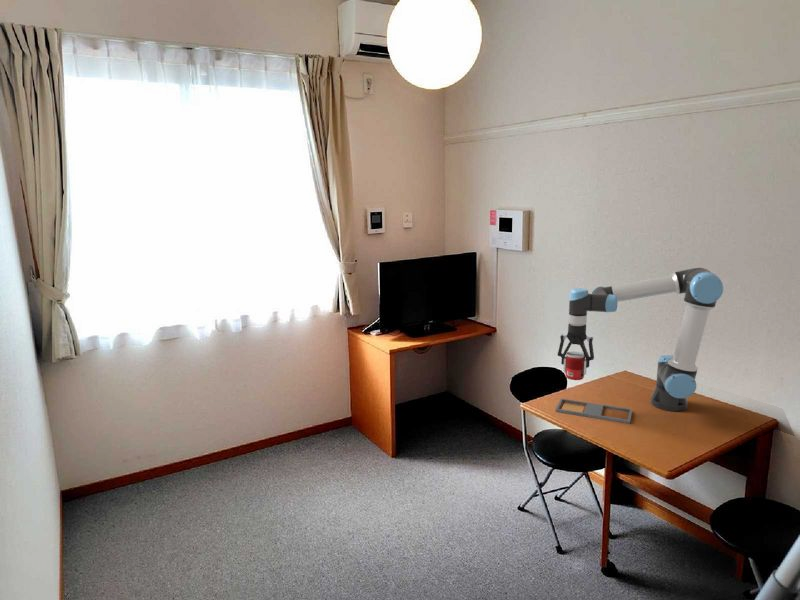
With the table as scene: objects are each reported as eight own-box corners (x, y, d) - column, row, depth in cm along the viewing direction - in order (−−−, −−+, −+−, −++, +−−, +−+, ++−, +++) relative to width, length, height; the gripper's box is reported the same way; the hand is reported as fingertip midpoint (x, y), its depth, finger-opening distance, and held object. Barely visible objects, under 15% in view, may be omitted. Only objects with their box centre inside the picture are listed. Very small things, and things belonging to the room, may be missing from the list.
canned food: (585, 380, 241) (586, 357, 239) (566, 380, 243) (567, 356, 240) (582, 374, 249) (583, 351, 246) (564, 374, 250) (565, 351, 248)
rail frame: (632, 411, 244) (632, 409, 244) (629, 423, 233) (630, 421, 233) (560, 400, 258) (560, 398, 257) (555, 411, 246) (555, 409, 246)
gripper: (603, 323, 239) (600, 373, 244) (554, 319, 248) (552, 366, 253) (601, 328, 232) (598, 378, 237) (551, 323, 241) (549, 372, 246)
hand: (574, 372), depth 245 cm, fingers closed on canned food, 8 cm apart
